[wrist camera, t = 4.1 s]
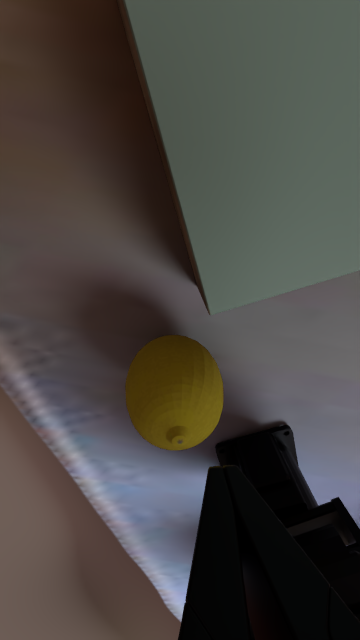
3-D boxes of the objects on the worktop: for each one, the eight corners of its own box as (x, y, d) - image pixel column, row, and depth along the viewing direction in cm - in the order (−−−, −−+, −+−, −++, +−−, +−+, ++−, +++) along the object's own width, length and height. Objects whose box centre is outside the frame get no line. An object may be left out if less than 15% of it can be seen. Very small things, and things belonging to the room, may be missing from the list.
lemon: (180, 394, 22) (192, 496, 15) (116, 361, 20) (94, 458, 13) (225, 340, 20) (265, 426, 13) (159, 299, 19) (162, 371, 11)
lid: (477, 225, 13) (500, 227, 12) (207, 307, 14) (210, 315, 13) (550, -253, 8) (601, -310, 7) (100, -83, 8) (93, -115, 8)
